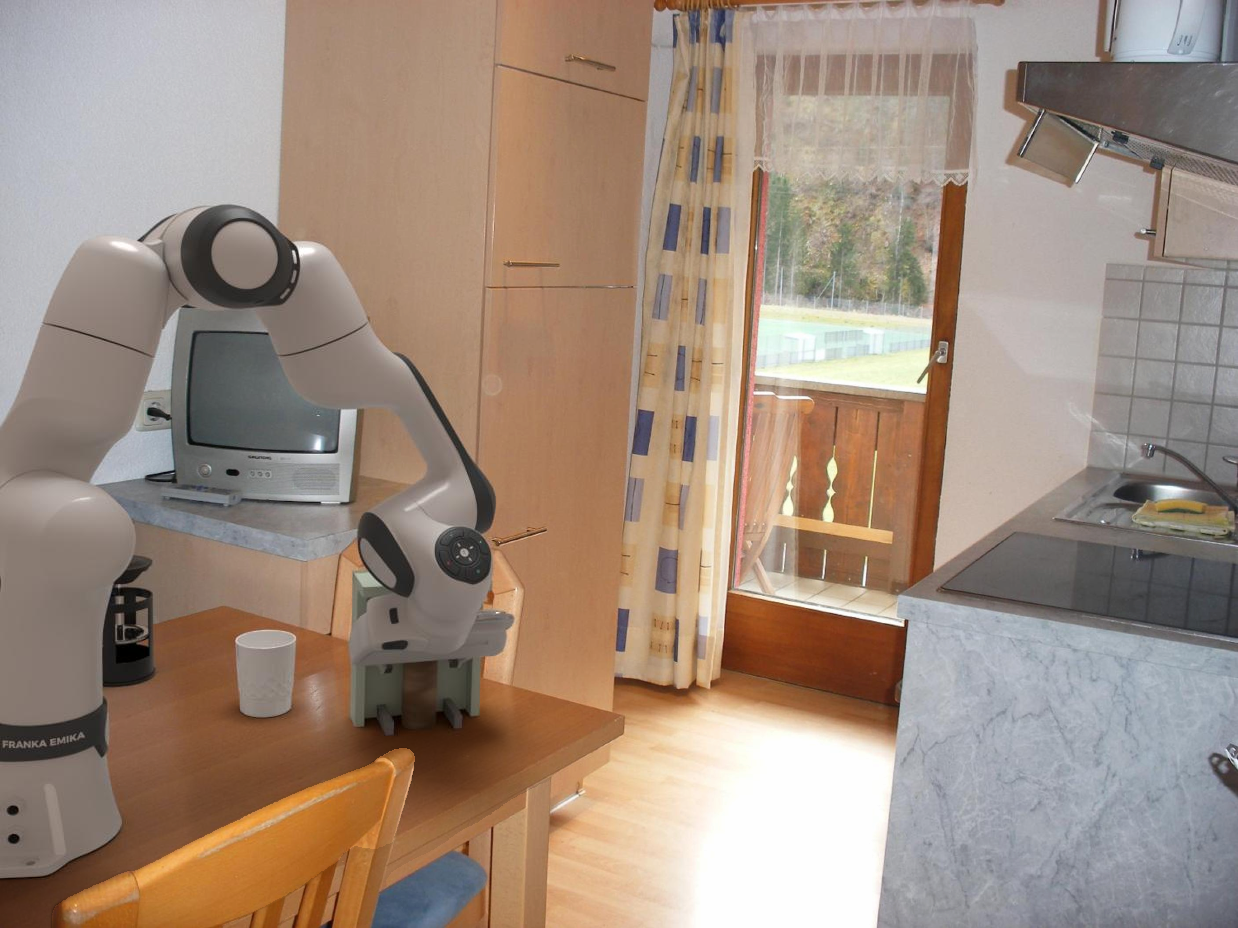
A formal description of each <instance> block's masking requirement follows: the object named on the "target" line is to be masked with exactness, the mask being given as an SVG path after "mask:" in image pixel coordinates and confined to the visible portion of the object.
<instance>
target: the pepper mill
mask: <svg viewBox="0 0 1238 928" xmlns="http://www.w3.org/2000/svg"><path fill="white" fill-rule="evenodd" d="M437 670H438V660H436V661H423V662H411V663H403V682H402V715H401V723H400V724H401V726H403V728H406V729H409V730H415V731H417V730H419V731H420V730H427V729H430V728H433V727H434V726H436V724H437V712H436V703H437Z"/></svg>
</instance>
